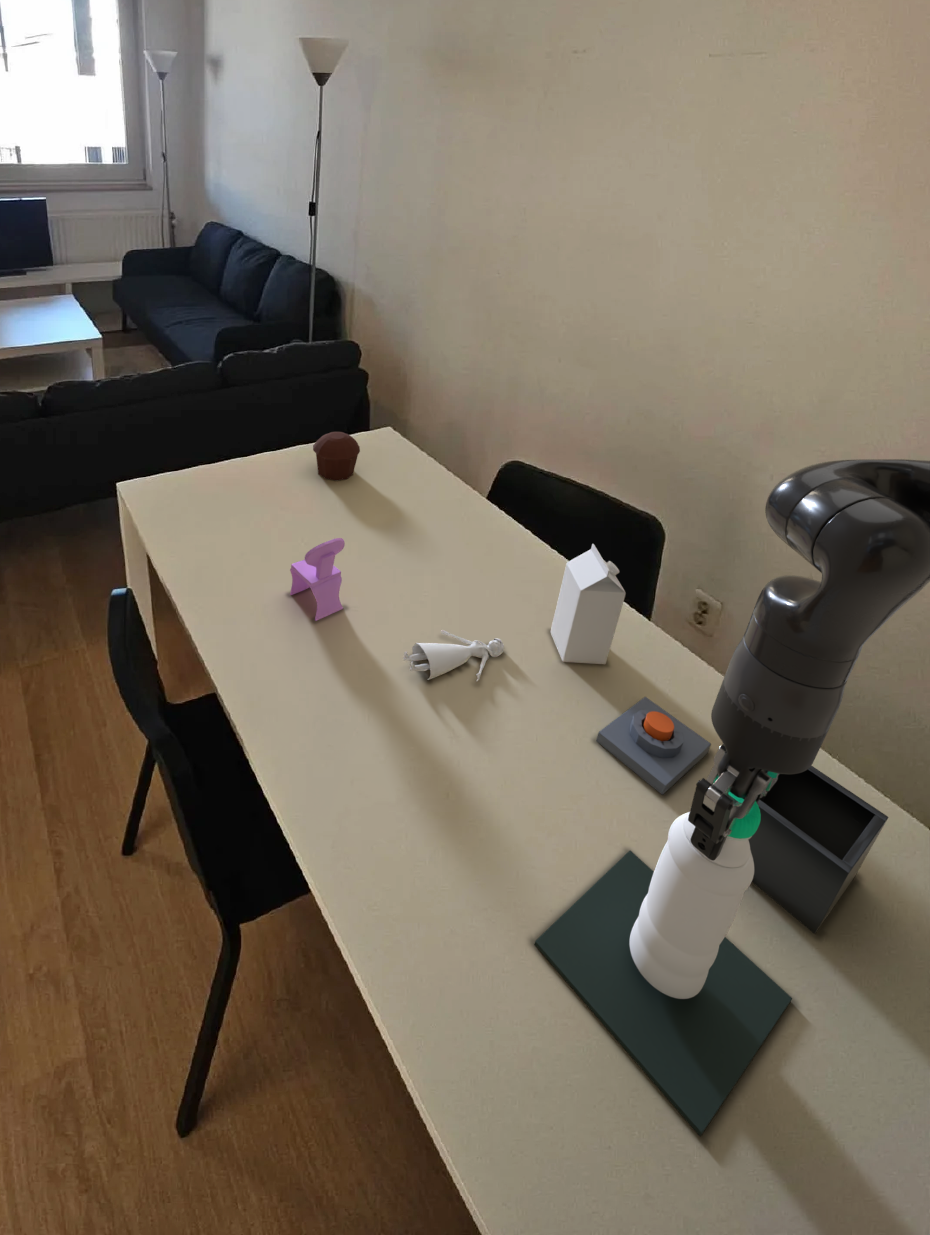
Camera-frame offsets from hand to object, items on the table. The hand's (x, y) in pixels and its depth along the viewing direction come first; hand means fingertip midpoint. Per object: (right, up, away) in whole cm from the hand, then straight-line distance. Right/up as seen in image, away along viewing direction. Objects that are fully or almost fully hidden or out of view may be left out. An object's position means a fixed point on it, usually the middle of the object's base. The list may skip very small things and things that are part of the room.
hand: (719, 832), depth 63 cm
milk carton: (+8, -2, +53) cm, 53 cm away
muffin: (-31, +22, +105) cm, 112 cm away
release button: (+12, -7, +33) cm, 36 cm away
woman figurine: (-14, -3, +49) cm, 51 cm away
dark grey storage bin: (+20, -17, +20) cm, 33 cm away
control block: (+11, -10, +35) cm, 38 cm away
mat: (-1, -21, +9) cm, 22 cm away
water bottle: (-1, -19, +8) cm, 21 cm away
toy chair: (-36, +3, +61) cm, 71 cm away
